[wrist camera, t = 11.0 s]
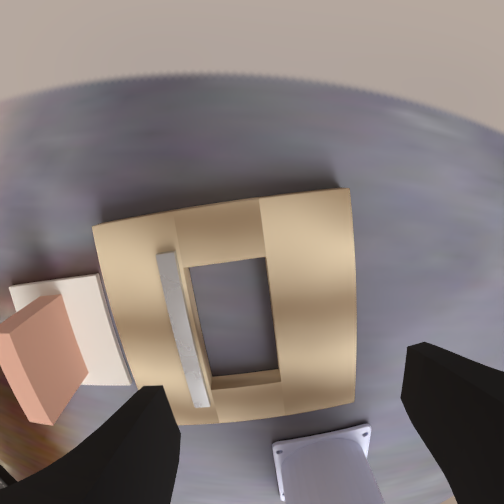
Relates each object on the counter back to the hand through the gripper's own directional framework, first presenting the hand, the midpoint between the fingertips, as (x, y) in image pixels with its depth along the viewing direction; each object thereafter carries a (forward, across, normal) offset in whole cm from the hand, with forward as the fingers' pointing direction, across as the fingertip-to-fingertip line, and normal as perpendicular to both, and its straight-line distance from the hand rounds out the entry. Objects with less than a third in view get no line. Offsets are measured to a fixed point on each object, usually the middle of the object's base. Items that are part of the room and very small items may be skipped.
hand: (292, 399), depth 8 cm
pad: (+10, +14, +2) cm, 18 cm away
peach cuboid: (+10, +14, +2) cm, 17 cm away
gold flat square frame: (+10, +2, +2) cm, 11 cm away
